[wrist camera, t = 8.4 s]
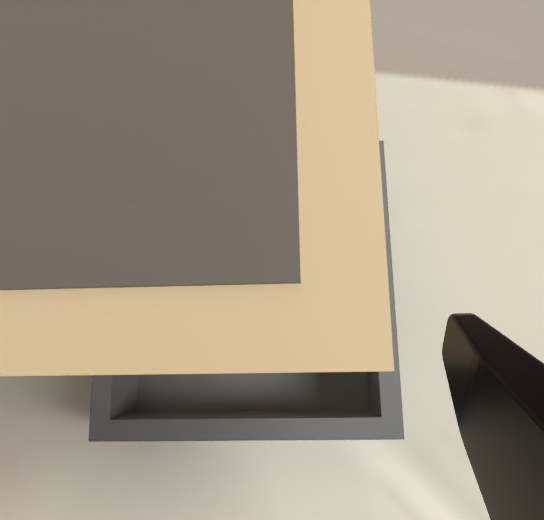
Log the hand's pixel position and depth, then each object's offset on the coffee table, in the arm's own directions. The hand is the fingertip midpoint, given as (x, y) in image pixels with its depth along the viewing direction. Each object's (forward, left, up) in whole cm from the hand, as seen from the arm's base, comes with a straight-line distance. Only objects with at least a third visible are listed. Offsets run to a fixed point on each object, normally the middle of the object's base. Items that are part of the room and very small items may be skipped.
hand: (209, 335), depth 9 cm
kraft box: (+2, +1, -8) cm, 8 cm away
